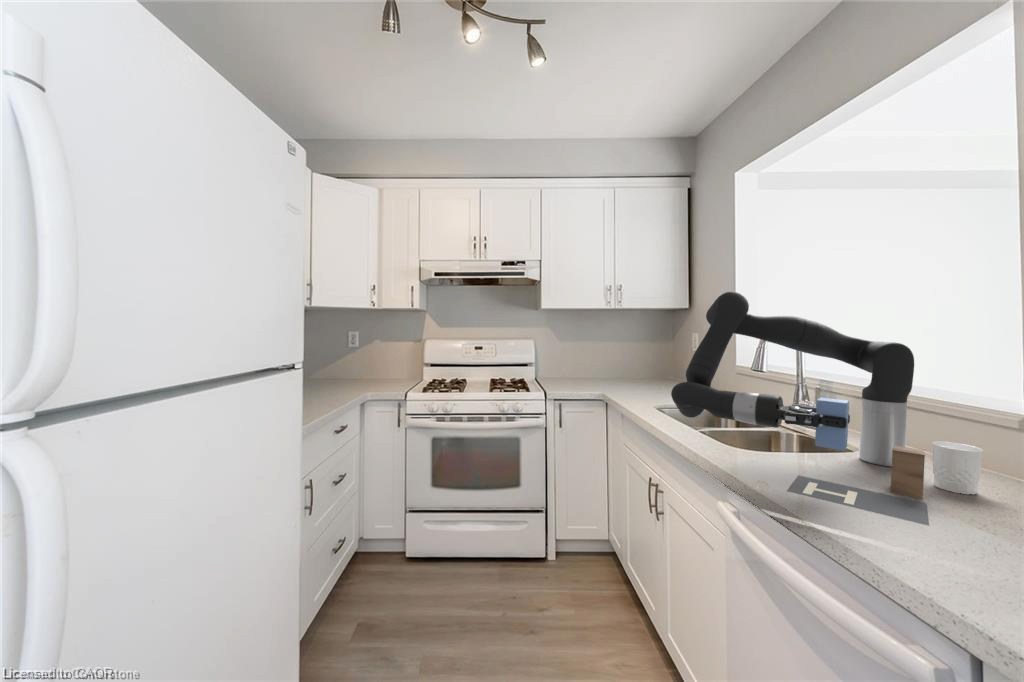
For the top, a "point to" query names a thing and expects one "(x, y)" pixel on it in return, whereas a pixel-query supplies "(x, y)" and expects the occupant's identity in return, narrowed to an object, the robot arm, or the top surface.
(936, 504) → the top surface
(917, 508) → the letter mat
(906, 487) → the walnut block
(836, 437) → the blue block
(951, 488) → the white cup
